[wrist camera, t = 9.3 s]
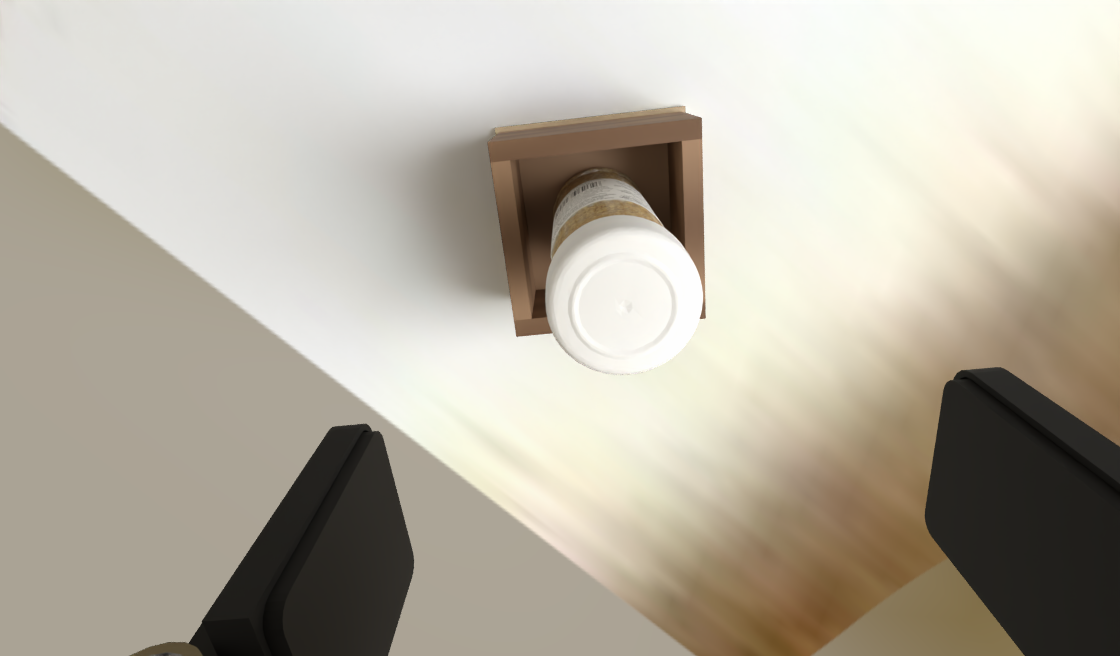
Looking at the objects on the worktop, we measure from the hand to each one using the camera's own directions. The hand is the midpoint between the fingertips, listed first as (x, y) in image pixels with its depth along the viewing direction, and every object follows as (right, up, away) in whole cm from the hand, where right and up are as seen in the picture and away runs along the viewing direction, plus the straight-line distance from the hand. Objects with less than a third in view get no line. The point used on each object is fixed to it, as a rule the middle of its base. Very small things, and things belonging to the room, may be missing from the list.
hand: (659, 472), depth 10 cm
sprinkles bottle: (0, +8, +20) cm, 21 cm away
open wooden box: (0, +8, +20) cm, 22 cm away
